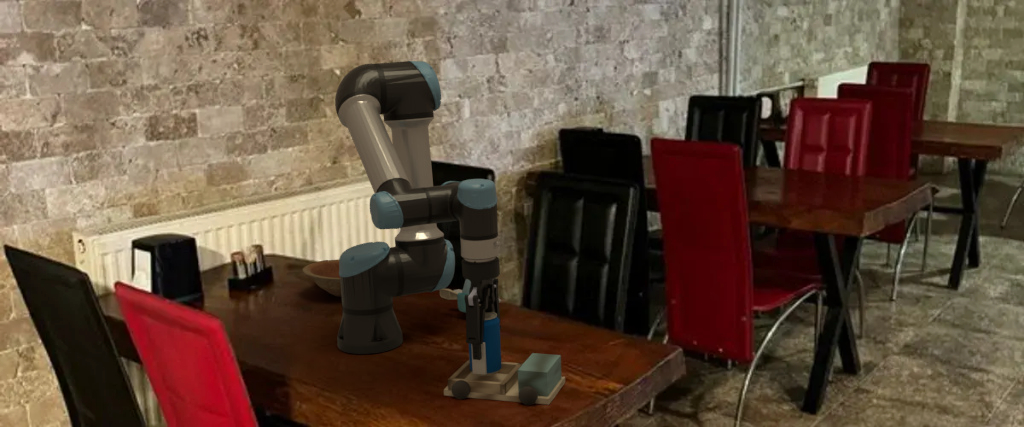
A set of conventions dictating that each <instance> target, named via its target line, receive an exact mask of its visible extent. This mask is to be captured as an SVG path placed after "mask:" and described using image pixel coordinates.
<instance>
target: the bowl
mask: <svg viewBox="0 0 1024 427" xmlns="http://www.w3.org/2000/svg"><path fill="white" fill-rule="evenodd" d="M302 272H303V273H304V275H306V276H308V277H311V278H312V280H313V282H315V284H316V285H317V287H319V288H321V289H322V290H324V291H326V292H327V293H329V294H330V295H333V296H335V297H341V298H342V296H341V284H340V276H339V259H329V260H328V259H324V260H320V261H317V262H316V261H315V262H312V263H310V264H308V265H305V266H304V267H303V268H302Z"/></svg>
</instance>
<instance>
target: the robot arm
mask: <svg viewBox="0 0 1024 427" xmlns="http://www.w3.org/2000/svg"><path fill="white" fill-rule="evenodd" d="M336 89H337V90H336V93H335V96H334V97H335V98H334V107H335V111H336V112H335V113H336V115H337V117H338V120H339V122H340V124H341V125H342V126H343V127H345V129H346V128H347V129H348V132H349V134H350V137H351V140H352V142H353V144H354V146H355V148H356V152H357V154H358V156H359V160H360V161H361V163H362V166H363V168H364V170H365V173H366V176H367V178H368V180H369V183H370V186H371V187H372V188H371V189H372V190H373V194H372V195H371V196H370V199H369V213H370V218H371V221H372V223H373V225H374V227H375V228H376V229H379V230H398V229H399V232H398V233H397V234H396V235H395V237H394V246H389V243H387V242H385V241H369V242H365V243H360V244H357V245H353V246H350V247H348V248H347V249H345V250H344V251H343V252H342V253H341V254H340V256H339V258H338V260H339V276H340V284H341V296H342V297H341V305H342V306H341V307H342V316H341V321H340V324H339V328H338V333H337V337H336V338H337V339H336V341H337V348H338V350H340V351H341V352H344V353H349V354H354V355H369V354H370V355H372V354H379V353H383V352H388V351H391V350H394V349H395V348H398V347H399V346H401V345H402V344H403V340H404V339H403V338H404V337H403V331H402V329H401V326H400V323H399V321H398V318H397V316H396V314H395V311H394V303H393V299H394V298H398V297H403V296H408V295H414V294H421V293H422V294H423V293H433V292H435V291H440V289H447V287H448V286H449V285H450V284H451V282H452V280H453V278H454V276H455V275H454V274H455V270H456V269H455V268H456V267H455V266H456V256H455V252H454V247H453V244H452V243H451V241H450V240H448V239H445V234H444V232H443V231H441V230H440V229H439V227H438V226H437V224H439V223H448V222H458V223H459V231H460V232H459V234H460V235H459V236H460V237H459V238H460V256H461V257H462V260H461V273H462V277H463V278H464V279H465V280H466V279H468V280H470V281H471V286H470V290H469V295H465V297H464V299H465V305H466V312H465V332H466V334H465V336H466V338H465V341H466V342H465V343H466V344H469V343H470V344H471V349H472V369H473V374H484V375H486V374H487V370H486V349H485V342H483V336H484V320H485V312H495V313H497V317H498V318H499V321H500V322H501V310H500V303H499V299H500V296H499V278H497V277H499V276H500V273H501V267H500V266H501V265H500V258H499V257H498V256H499V254H500V253H499V252H500V249H499V247H500V246H501V245H502V244H501V241H499V232H498V231H499V227H498V226H499V224H498V222H499V220H498V196H497V187H496V183H495V182H494V181H493V180H492V179H485V178H469V179H466V180H462V181H456V180H449V181H445V182H444V183H442V184H441V185H434V181H433V180H434V179H433V169H432V157H431V144H430V143H431V142H430V135H429V134H430V131H429V125H430V124H431V123H432V121H434V118H435V116H434V115H435V113H434V112H435V111H437V110H439V109H440V107H441V103H442V102H441V100H442V90H441V85H440V82H439V79H438V75H437V74H436V71H435V70H434V68H433V67H432V65H431V64H430V63H428V62H426V61H423V60H422V61H421V60H406V61H392V62H379V63H365V64H361V65H358V66H355V68H353V69H351V70H350V71H348V72H347V73H346V74H345V75H344V77H343V78H342V80H341V81H340V83H339V85H338V87H337V88H336ZM381 115H383V116H381ZM382 117H383V118H382ZM385 125H387V126H388V127H389V128H390V131H391V137H390V135H389V133H388V131H387V128H386V126H385ZM479 304H480V305H479ZM501 330H502V325H500V331H501Z"/></svg>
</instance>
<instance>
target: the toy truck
mask: <svg viewBox="0 0 1024 427" xmlns="http://www.w3.org/2000/svg"><path fill="white" fill-rule="evenodd" d="M501 365H502V368H501V369H500V370H499V371H498V372H497V373H496V374H494V375H490V376H479V375H476V374H473V372H472V371H471V370H470V362H469V359H467V360H466V362H465V363H463V364H462V365H461V366H460V368H458V369H457V370H456V371H455V372H454V373H453V374H452V375H450V377H449V378H448V379H447V386H446V387H445V388H444V389H443V396H444V397H445V396H447V397H455V398H456V400H457V399H458V400H465V399H466V398H467V399H469V398H470V399H478V400H479V399H480V400H493V401H504V402H516V403H522V404H523V405H525V406H532V405H534V404H538V405H549V406H550V404H551V403H552V401H553V400H554V399H555V397H556V396H557V395H558V394H559V392H560V390H561V389H562V387H563V386H564V385H565V383H566V376H562V356H561V354H549V353H537V352H536V353H534V352H532V353H531V354H530V355H529V357H527V358H526V360H525V361H524V362H523V363H520V362H509V361H501Z"/></svg>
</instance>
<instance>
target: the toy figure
mask: <svg viewBox="0 0 1024 427" xmlns="http://www.w3.org/2000/svg"><path fill="white" fill-rule="evenodd" d="M470 286H471V281H470V280H468V279H465V281H464V283H463V288H462V289H460V288H458V289H453V290H452V289H451V288H444V289H440V290H439V296H440V298H442V299H445V300H449V301H452V300H453V301H455V300H456V301H457V309H458V310H459V312H461V313H466V305H465V299H464V297H465V295H469V290H470ZM501 302H502V299H500V298H499V304H500V303H501ZM479 305H480V304H479Z"/></svg>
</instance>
